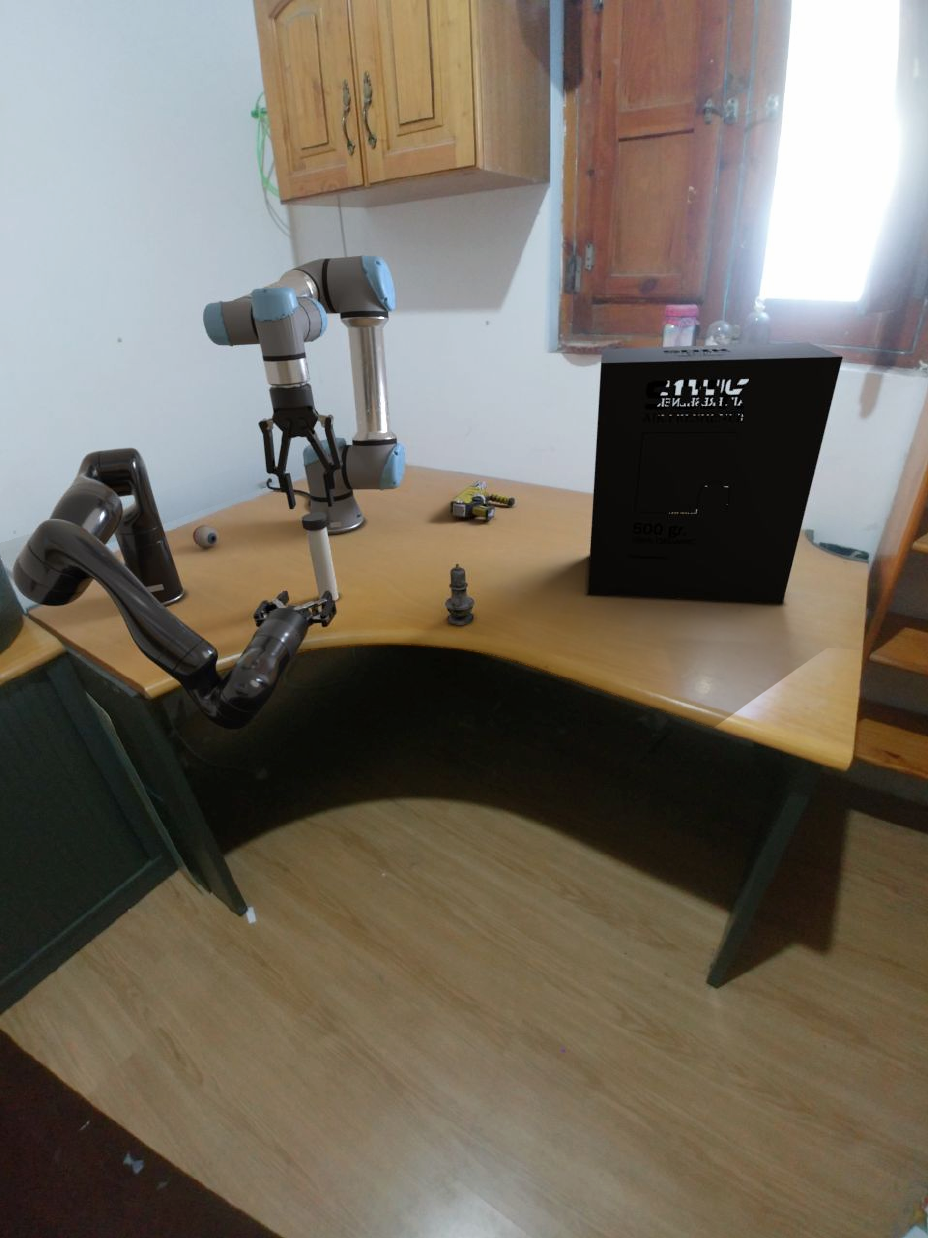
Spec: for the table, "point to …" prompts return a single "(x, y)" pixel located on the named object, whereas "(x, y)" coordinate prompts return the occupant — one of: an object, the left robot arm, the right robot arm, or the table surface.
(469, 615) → the dark grey chess piece
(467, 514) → the toy gun
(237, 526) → the table surface
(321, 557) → the white cylinder
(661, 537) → the cardboard box
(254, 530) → the table surface
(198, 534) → the eyeball
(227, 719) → the left robot arm
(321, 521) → the lid
